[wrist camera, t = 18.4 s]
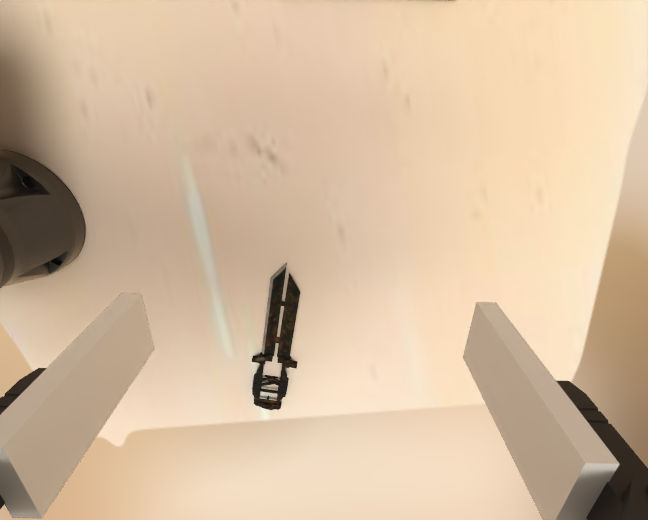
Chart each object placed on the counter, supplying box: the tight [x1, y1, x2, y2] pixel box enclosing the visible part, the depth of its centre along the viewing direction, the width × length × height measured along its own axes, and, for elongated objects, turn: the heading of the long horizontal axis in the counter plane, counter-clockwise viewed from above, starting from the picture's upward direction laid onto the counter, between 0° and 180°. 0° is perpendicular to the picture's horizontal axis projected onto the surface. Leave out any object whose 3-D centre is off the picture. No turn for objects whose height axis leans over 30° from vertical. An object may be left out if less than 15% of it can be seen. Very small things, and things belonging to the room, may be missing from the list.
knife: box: [252, 263, 300, 410], centre depth 51 cm, size 25×6×1 cm, turn 165°
